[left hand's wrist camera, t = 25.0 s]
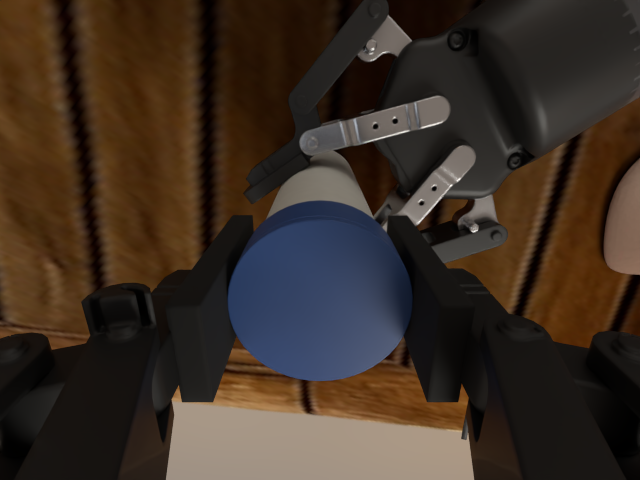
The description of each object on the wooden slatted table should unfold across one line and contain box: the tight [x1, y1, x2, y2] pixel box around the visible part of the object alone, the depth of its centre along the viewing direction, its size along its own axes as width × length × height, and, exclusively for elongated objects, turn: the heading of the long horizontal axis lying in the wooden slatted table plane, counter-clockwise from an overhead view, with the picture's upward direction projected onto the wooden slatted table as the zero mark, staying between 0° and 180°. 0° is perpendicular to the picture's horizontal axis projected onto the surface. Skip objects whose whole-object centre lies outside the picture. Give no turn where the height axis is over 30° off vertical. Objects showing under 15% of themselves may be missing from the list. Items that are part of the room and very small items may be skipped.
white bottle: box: [266, 151, 374, 219], centre depth 18 cm, size 5×5×16 cm
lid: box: [227, 200, 413, 381], centre depth 11 cm, size 5×5×2 cm
